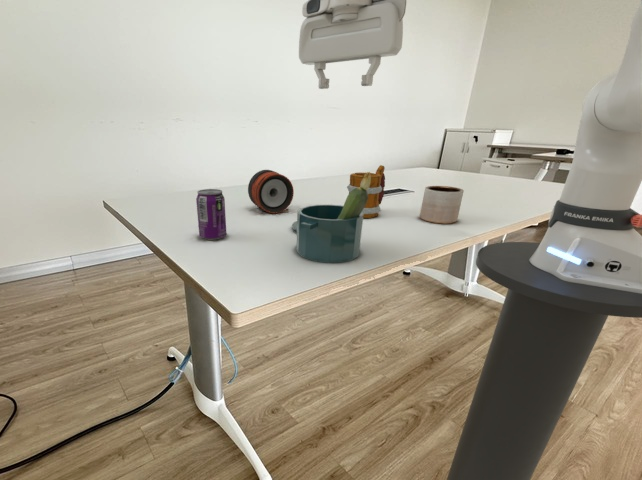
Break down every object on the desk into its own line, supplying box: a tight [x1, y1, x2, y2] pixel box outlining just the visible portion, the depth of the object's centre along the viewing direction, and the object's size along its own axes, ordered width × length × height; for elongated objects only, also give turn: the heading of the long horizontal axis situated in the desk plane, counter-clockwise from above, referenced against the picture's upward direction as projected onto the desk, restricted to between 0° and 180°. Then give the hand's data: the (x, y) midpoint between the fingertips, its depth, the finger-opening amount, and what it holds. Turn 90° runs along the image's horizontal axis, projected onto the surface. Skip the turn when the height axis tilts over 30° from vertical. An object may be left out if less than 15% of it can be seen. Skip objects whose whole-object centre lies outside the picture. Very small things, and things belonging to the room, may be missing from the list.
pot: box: [295, 204, 364, 264], centre depth 80 cm, size 15×20×10 cm
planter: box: [419, 185, 465, 225], centre depth 106 cm, size 11×11×10 cm
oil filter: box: [247, 169, 294, 214], centre depth 116 cm, size 13×12×13 cm
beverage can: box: [195, 188, 227, 241], centre depth 88 cm, size 7×7×12 cm
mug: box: [346, 164, 386, 219], centre depth 112 cm, size 11×16×15 cm, turn 131°
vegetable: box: [337, 171, 372, 219], centre depth 76 cm, size 4×4×20 cm
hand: (344, 87), depth 68 cm, fingers open, 8 cm apart
